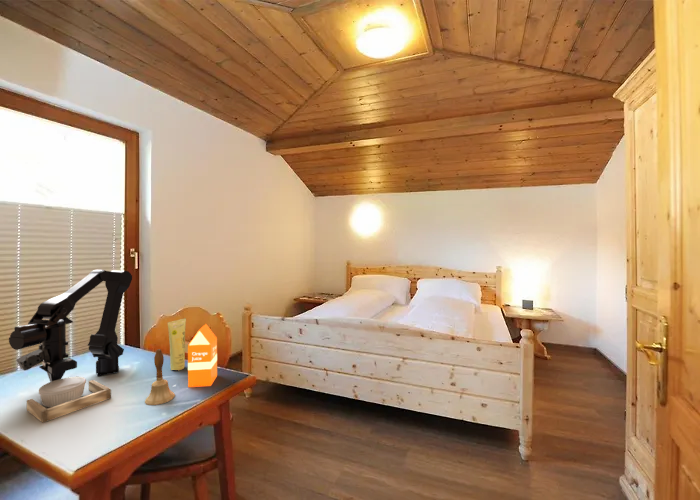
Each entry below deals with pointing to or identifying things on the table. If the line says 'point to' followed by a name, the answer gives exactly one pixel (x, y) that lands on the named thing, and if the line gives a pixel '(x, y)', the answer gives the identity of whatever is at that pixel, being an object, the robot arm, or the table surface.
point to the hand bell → (159, 384)
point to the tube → (177, 343)
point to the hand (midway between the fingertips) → (54, 386)
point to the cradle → (70, 403)
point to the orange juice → (202, 358)
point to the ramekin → (62, 391)
